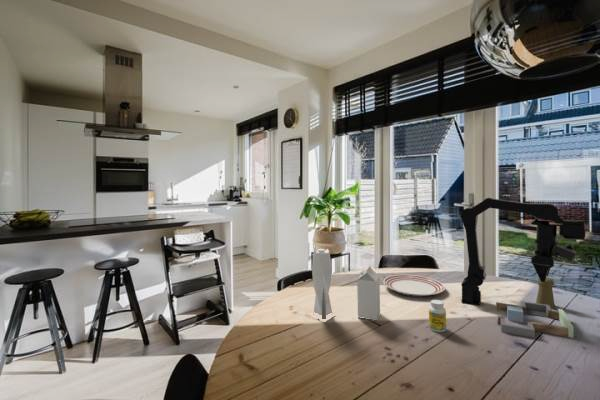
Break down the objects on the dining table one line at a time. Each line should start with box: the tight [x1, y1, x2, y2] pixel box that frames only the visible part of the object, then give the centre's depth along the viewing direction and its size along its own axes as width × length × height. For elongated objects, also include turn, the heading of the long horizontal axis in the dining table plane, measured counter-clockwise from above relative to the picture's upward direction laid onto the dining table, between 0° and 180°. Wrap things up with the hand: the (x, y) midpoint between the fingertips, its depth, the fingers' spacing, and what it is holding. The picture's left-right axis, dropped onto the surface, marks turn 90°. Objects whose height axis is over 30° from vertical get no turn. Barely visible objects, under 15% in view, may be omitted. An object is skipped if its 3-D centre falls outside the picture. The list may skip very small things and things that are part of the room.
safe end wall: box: [558, 308, 575, 339], centre depth 103 cm, size 1×15×4 cm, turn 149°
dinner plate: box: [382, 274, 446, 297], centre depth 144 cm, size 27×27×3 cm
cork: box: [535, 277, 556, 309], centre depth 122 cm, size 6×6×11 cm
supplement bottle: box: [428, 299, 447, 333], centre depth 105 cm, size 5×5×10 cm
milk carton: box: [356, 265, 381, 321], centre depth 116 cm, size 7×7×19 cm
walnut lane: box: [495, 301, 569, 338], centre depth 109 cm, size 19×15×2 cm
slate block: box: [506, 305, 524, 324], centre depth 111 cm, size 4×4×4 cm
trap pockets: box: [500, 300, 554, 339], centre depth 109 cm, size 16×27×2 cm, turn 149°
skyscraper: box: [311, 244, 333, 319], centre depth 117 cm, size 8×8×28 cm
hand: (544, 278), depth 113 cm, fingers open, 9 cm apart
